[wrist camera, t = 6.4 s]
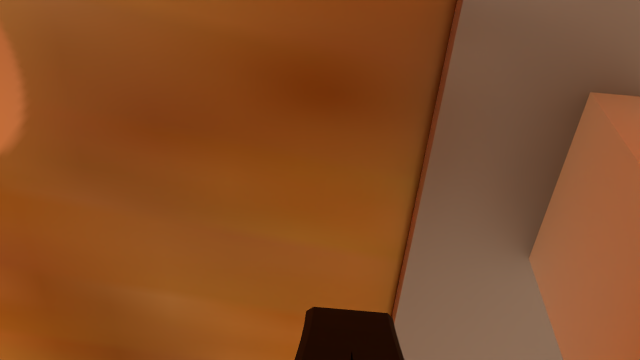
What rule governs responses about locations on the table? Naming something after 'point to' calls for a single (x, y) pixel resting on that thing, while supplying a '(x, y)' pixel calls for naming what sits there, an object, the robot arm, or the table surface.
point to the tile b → (595, 236)
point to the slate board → (502, 169)
